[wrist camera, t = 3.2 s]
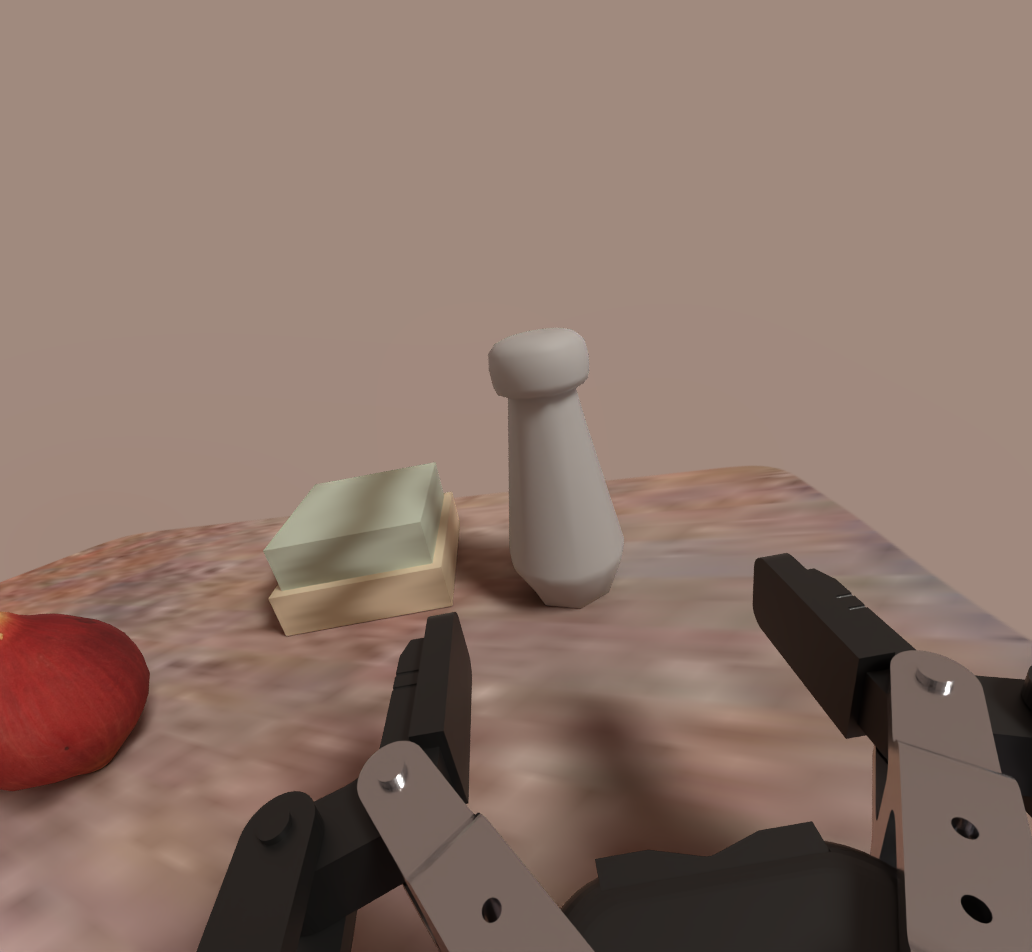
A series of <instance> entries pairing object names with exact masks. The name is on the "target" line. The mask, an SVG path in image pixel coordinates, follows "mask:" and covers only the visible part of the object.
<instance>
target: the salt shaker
mask: <svg viewBox="0 0 1032 952" xmlns="http://www.w3.org/2000/svg"><path fill="white" fill-rule="evenodd" d="M588 355H589V354H588V351H587V347H586V344H585V340H584V338H582V337H581V336H580V335H579V334H577V333H576V332H575V331H573V330H571V329H563V328H549V329H540V330H534V331H528V332H524V333H520V334H516V335H513V336H509V337H507V338H505V339H504V340H502V341H500V342H498V343H496V344H495V345H494V346H493V348H492V349H491V351H490V352H489V354H488V357H489V372H490V376H491V380H492V384H493V387H494V389H495V391H496V393H497V394H498V395H499V396H503V397H507V398H508V432H509V433H508V436H509V437H508V438H509V439H508V442H509V549H510V554H511V559H512V563H513V566H514V568H515V571H516V572H517V573H518V574H519V575H520V576H521V577H522V578H523V579H524V580H525V581H526V582H527V583H528V584H529V585H530V586H531V587H532V588H533V589H534V590H535V591H536V593H537V594H538V595H539V597H540V598H541V599H542V601H543V602H544V604H545V605H548V606H559V607H569V608H579V609H581V608H583V607H584V606H586V605H588V604H589V603H591V602H593V601H594V600H596V599H598V598H600V597H601V596H603V595H605V594H606V593H608V592H609V590H610V588H611V585H612V582H613V580H614V577H615V574H616V572H617V569H618V567H619V564H620V560H621V556H622V552H623V547H624V537H623V534H622V531H621V528H620V525H619V522H618V519H617V516H616V513H615V510H614V507H613V504H612V501H611V498H610V495H609V492H608V489H607V485H606V482H605V479H604V476H603V474H602V471H601V467H600V465H599V461H598V458H597V455H596V452H595V449H594V446H593V443H592V440H591V437H590V434H589V431H588V428H587V424H586V421H585V418H584V414H583V411H582V408H581V404H580V401H579V398H578V394H577V391H576V388H577V387H578V386H580V385H581V384H583V383H584V382H585V380H586V379H587V377H588V373H589V356H588Z"/></svg>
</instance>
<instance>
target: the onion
mask: <svg viewBox="0 0 1032 952" xmlns="http://www.w3.org/2000/svg"><path fill="white" fill-rule="evenodd" d="M149 677H150V673H149V670H148V667H147V665H146V662H145V660H144V657H143V655H142V653H141V652H140V650H139V649H138V647H137V646H136V644H135V643H134V642H133V641H132V640H131V639H130V638H129V637H128V636H127V635H126V634H125V633H124V632H122V631H121V630H119V629H117V628H115V627H114V626H112V625H110V624H107V623H104V622H102V621H99V620H95V619H89V618H83V617H77V616H71V615H63V614H38V615H17V614H13V613H10V612H0V789H1V790H8V791H16V790H21V789H27V788H32V787H37V786H42V785H47V784H51V783H56V782H59V781H62V780H65V779H68V778H71V777H74V776H77V775H79V774H88V773H91V772H94V771H97V770H99V769H101V768H103V767H104V766H105V765H107V764H108V763H109V762H110V761H111V760H112V759H113V757H114V756H115V754H116V753H117V751H118V750H119V748H120V747H121V746H122V744H123V743H124V741H125V740H126V739H127V737H128V736H129V734H130V733H131V731H132V730H133V729H134V727H135V725H136V723H137V721H138V719H139V717H140V715H141V713H142V711H143V709H144V706H145V703H146V699H147V696H148V691H149Z"/></svg>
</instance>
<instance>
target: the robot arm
mask: <svg viewBox="0 0 1032 952" xmlns="http://www.w3.org/2000/svg"><path fill="white" fill-rule="evenodd" d="M753 610H754V615H755V618H756V620H757V622H758V624H759V626H760V628H761V629H762V631H763V632H764V633H765V634H766V636H767V637H768V638H769V640H770V641H771V642H772V644H773V645H774V646H775V647H776V649H777V650H778V651H779V653H780V654H781V655H782V656H783V658H784V659H785V660H786V662H787V663H788V664H789V666H790V667H791V668H792V669H793V671H794V672H795V673H796V675H797V676H798V677H799V678H800V680H801V681H802V682H803V684H804V685H805V686H806V688H807V689H808V690H809V691H810V693H811V694H812V695H813V697H814V698H815V699H816V701H817V702H818V703H819V704H820V706H821V707H822V708H823V710H824V711H825V712H826V713H827V715H828V716H829V717H830V719H831V720H832V721H833V723H834V724H835V725H836V726H837V728H838V729H839V730H840V732H841V733H842V734H843V735H844V737H845V738H846V739H848V738H853V737H859V736H865V735H867V736H868V738H869V739H870V740H871V741H872V742H873V744H874V749H873V755H872V841H871V850H870V855H869V854H867V853H865V852H863V851H860V850H857V849H854V848H851V847H849V846H845V845H841V844H837V843H833V842H828V841H824V840H823V839H822V837H821V835H820V834H819V832H818V830H817V829H816V827H815V825H814V824H813V822H812V821H811V822H806V823H800V824H794V825H788V826H783V827H777V828H771V829H765V830H760V831H757V832H755V833H753V834H752V835H750V836H748V837H746V838H744V839H742V840H741V841H739V842H737V843H735V844H733V845H731V846H730V847H728V848H726V849H724V850H722V851H720V852H719V853H717V854H715V855H712V856H708V857H706V856H695V855H687V854H679V853H670V852H662V851H654V850H644V851H639V852H633V853H627V854H621V855H616V856H610V857H604V858H598V859H595V861H596V867H597V873H598V878H596V879H595V880H593V881H591V882H589V883H587V884H586V885H585V886H584V887H582V888H581V889H580V890H578V891H577V892H576V893H575V894H574V895H573V896H572V897H571V898H570V899H569V900H568V901H567V902H566V903H565V904H564V906H563V907H562V908H561V910H560V908H559V907H558V906H557V905H556V903H555V902H554V901H553V900H552V899H551V897H550V896H549V895H548V894H547V892H546V891H545V890H544V889H543V887H542V886H541V885H540V884H539V882H538V881H537V880H536V879H535V878H534V876H533V875H532V874H531V873H530V871H529V870H528V869H527V868H526V866H525V865H524V864H523V863H522V862H521V860H520V859H519V858H518V857H517V855H516V854H515V853H514V852H513V850H512V849H511V848H510V847H509V845H508V844H507V843H506V842H505V841H504V839H503V838H502V837H501V836H500V834H499V833H498V832H497V831H496V829H495V828H494V827H493V826H492V825H491V823H490V822H489V821H488V820H487V819H486V818H485V817H484V816H483V815H482V814H480V813H477V814H476V815H475V814H474V813H473V812H472V811H471V810H470V809H469V808H468V807H467V805H466V804H468V797H469V762H470V728H471V694H472V671H471V663H470V657H469V653H468V649H467V646H466V642H465V639H464V635H463V632H462V628H461V624H460V621H459V617H458V615H457V613H456V612H452V613H447V614H441V615H435V616H430V617H428V619H427V624H426V630H425V636H424V638H420V639H414V640H411V641H410V642H409V644H408V645H407V647H406V648H405V649H404V651H403V652H402V654H401V655H400V658H399V662H398V667H397V672H396V677H395V681H394V685H393V691H392V695H391V699H390V704H389V708H388V713H387V718H386V722H385V727H384V732H383V736H382V741H381V745H380V748H379V750H378V751H377V752H375V753H374V754H373V755H372V756H371V757H370V758H369V759H368V761H367V762H366V763H365V765H364V766H363V768H362V770H361V772H360V775H359V777H358V778H357V779H356V780H354V781H353V782H352V783H350V784H348V785H347V786H345V787H343V788H341V789H339V790H337V791H335V792H333V793H331V794H329V795H327V796H325V797H323V798H321V799H319V800H317V801H315V802H313V800H312V798H311V797H310V796H309V795H307V794H306V793H303V792H300V791H293V792H288V793H284V794H282V795H279V796H277V797H275V798H274V799H272V800H270V801H269V802H267V803H266V804H265V805H264V806H262V807H261V808H260V809H259V810H258V811H257V812H256V813H255V814H254V815H253V817H252V818H251V819H250V820H249V822H248V823H247V825H246V826H245V828H244V830H243V831H242V834H241V836H240V838H239V841H238V843H237V846H236V849H235V851H234V854H233V857H232V859H231V862H230V864H229V867H228V870H227V872H226V875H225V878H224V880H223V883H222V886H221V888H220V891H219V893H218V896H217V899H216V901H215V904H214V907H213V909H212V912H211V915H210V917H209V920H208V922H207V925H206V928H205V930H204V933H203V936H202V938H201V941H200V944H199V946H198V949H197V952H351V948H352V941H353V934H354V928H355V921H356V914H357V910H358V909H360V908H361V907H363V906H365V905H366V904H368V903H370V902H372V901H373V900H375V899H377V898H378V897H380V896H382V895H384V894H385V893H387V892H389V891H391V890H392V889H394V888H396V887H397V886H399V885H401V884H402V886H403V887H404V889H405V891H406V893H407V895H408V896H409V898H410V900H411V902H412V904H413V905H414V907H415V909H416V911H417V913H418V914H419V916H420V918H421V920H422V922H423V923H424V925H425V927H426V929H427V931H428V932H429V934H430V936H431V938H432V940H433V941H434V943H435V945H436V947H437V949H438V950H439V952H1032V836H1031V832H1030V828H1029V824H1028V820H1027V816H1026V812H1027V813H1028V814H1029V815H1030V816H1031V817H1032V666H1030V668H1029V670H1028V673H1027V676H1026V679H1025V680H1022V679H1010V678H998V677H985V676H976V675H974V674H973V673H972V672H970V671H969V670H968V669H967V668H965V667H964V666H962V665H961V664H959V663H957V662H956V661H954V660H952V659H949V658H947V657H945V656H942V655H939V654H935V653H932V652H927V651H918V650H916V649H914V648H913V647H912V646H911V645H910V644H909V643H908V642H907V641H905V640H904V639H903V638H902V637H901V636H900V635H899V634H897V633H896V632H895V631H894V630H893V629H892V628H891V627H889V626H888V625H887V624H886V623H885V622H884V621H883V620H882V619H880V618H879V617H878V616H877V615H876V614H875V613H874V612H872V611H871V610H870V609H869V608H868V607H867V608H866V607H865V605H864V604H863V603H862V602H861V601H860V600H859V599H858V598H857V597H855V596H852V594H851V592H850V591H849V590H847V589H846V588H845V587H844V586H843V585H842V584H841V583H839V582H838V581H837V580H836V579H834V578H832V577H830V576H828V575H826V574H824V573H822V572H820V571H818V570H816V569H808V570H807V569H806V568H804V567H803V566H802V565H801V564H800V563H799V562H798V561H797V560H796V559H795V558H794V557H793V556H791V555H790V554H788V553H784V554H778V555H773V556H767V557H762V558H757V559H756V561H755V564H754V584H753Z"/></svg>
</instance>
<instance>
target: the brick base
mask: <svg viewBox="0 0 1032 952" xmlns="http://www.w3.org/2000/svg"><path fill="white" fill-rule="evenodd" d="M459 528H460V521H459V517H458V514H457V510H456V506H455V502H454V498H453V494H452V492H447V493H443V490H442V486H441V482H440V478H439V475H438V471H437V467H436V463H429V464H424V465H418V466H413V467H408V468H402V469H397V470H391V471H386V472H381V473H375V474H370V475H365V476H359V477H354V478H349V479H343V480H338V481H332V482H327V483H322V484H317V485H315V486H314V487H313V488H312V490H311V491H310V492H309V493H308V495H307V496H306V497H305V498H304V500H303V501H302V502H301V503H300V505H299V506H298V507H297V509H296V510H295V511H294V513H293V514H292V515H291V516H290V517H289V519H288V520H287V521H286V523H285V524H284V525H283V526H282V528H281V529H280V530H279V531H278V533H277V534H276V535H275V537H274V538H273V539H272V540H271V542H270V543H269V544H268V545H267V547H266V548H265V549H264V554H265V556H266V558H267V560H268V562H269V564H270V567H271V569H272V571H273V573H274V575H275V577H276V580H277V582H278V585H277V586H276V588H275V589H274V591H273V593H272V594H271V596H270V597H269V601H270V603H271V605H272V607H273V610H274V612H275V614H276V616H277V618H278V620H279V622H280V624H281V626H282V628H283V630H284V632H285V635H286V636H290V635H296V634H301V633H307V632H312V631H318V630H323V629H328V628H334V627H339V626H345V625H350V624H356V623H361V622H367V621H372V620H378V619H383V618H389V617H394V616H400V615H405V614H411V613H416V612H422V611H427V610H432V609H438V608H443V607H449V606H452V603H453V593H454V582H455V571H456V560H457V549H458V539H459Z"/></svg>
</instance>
